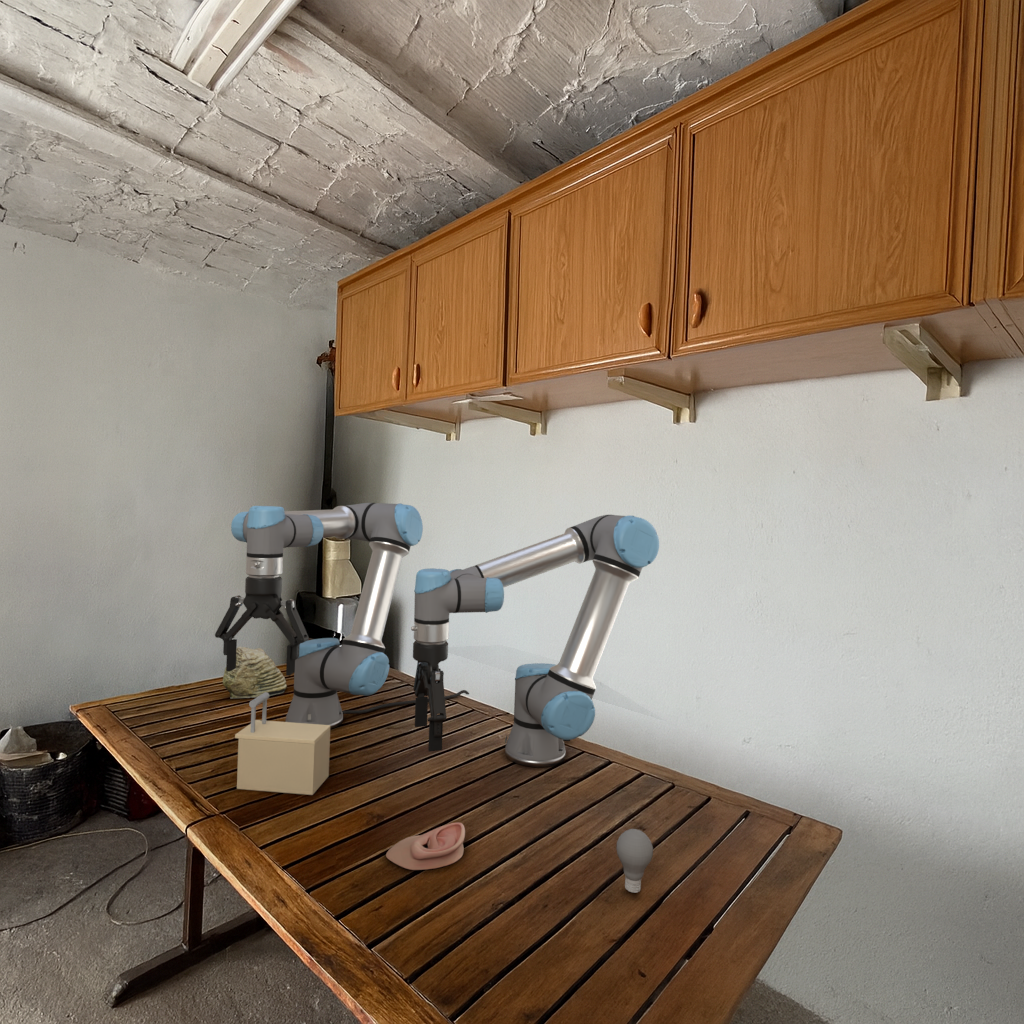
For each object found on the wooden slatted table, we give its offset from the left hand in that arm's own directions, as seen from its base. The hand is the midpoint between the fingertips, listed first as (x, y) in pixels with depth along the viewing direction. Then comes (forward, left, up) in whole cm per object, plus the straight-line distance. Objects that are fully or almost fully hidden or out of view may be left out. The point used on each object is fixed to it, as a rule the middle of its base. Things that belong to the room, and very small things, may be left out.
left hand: (260, 672), depth 140 cm
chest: (-4, +5, -24) cm, 25 cm away
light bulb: (-21, +82, -24) cm, 88 cm away
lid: (-3, +5, -13) cm, 14 cm away
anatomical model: (-5, +48, -24) cm, 54 cm away
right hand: (-22, +31, -12) cm, 40 cm away
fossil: (-30, -55, -24) cm, 67 cm away
